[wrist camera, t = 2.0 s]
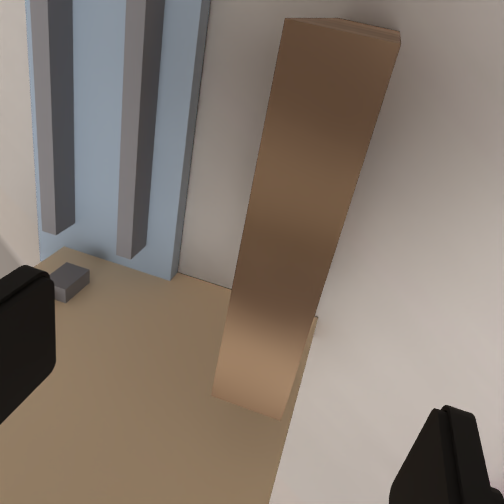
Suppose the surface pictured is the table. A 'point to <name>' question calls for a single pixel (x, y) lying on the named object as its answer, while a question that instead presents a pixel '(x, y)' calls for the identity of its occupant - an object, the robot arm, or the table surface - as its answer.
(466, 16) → the table surface
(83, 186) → the cabinet side
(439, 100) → the table surface
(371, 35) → the door
